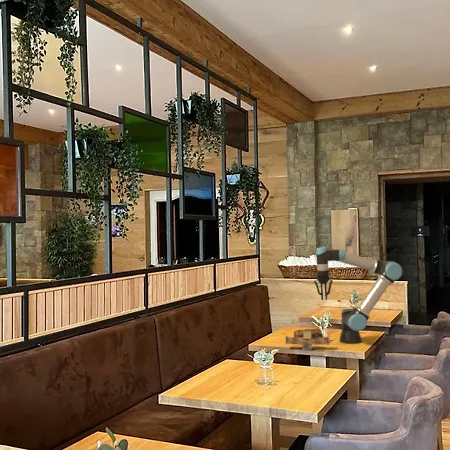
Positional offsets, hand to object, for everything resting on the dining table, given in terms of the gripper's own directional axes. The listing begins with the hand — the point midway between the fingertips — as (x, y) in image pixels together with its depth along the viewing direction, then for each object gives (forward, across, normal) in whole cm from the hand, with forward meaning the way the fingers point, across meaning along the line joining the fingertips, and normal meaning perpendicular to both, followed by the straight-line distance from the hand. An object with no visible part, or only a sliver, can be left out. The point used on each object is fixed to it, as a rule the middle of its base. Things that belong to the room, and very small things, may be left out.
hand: (324, 304), depth 373 cm
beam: (+28, +14, +9) cm, 32 cm away
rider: (+22, +13, +9) cm, 27 cm away
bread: (+28, +12, -10) cm, 32 cm away
